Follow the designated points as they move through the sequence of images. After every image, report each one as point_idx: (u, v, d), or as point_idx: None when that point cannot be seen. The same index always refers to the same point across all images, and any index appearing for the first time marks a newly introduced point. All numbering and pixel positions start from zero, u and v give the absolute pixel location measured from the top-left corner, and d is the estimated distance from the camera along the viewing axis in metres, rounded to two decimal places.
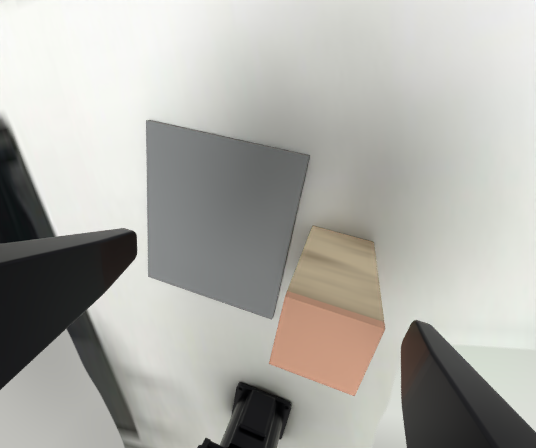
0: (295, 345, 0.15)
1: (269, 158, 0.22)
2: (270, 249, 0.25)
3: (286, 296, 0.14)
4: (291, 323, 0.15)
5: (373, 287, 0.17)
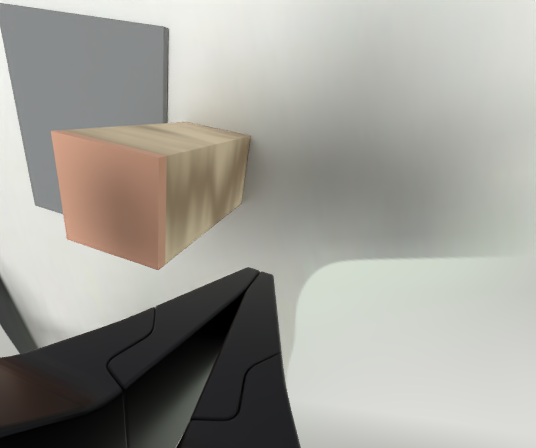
0: (82, 205, 0.12)
1: (124, 35, 0.19)
2: None
3: (53, 131, 0.11)
4: (69, 172, 0.12)
5: (195, 145, 0.13)
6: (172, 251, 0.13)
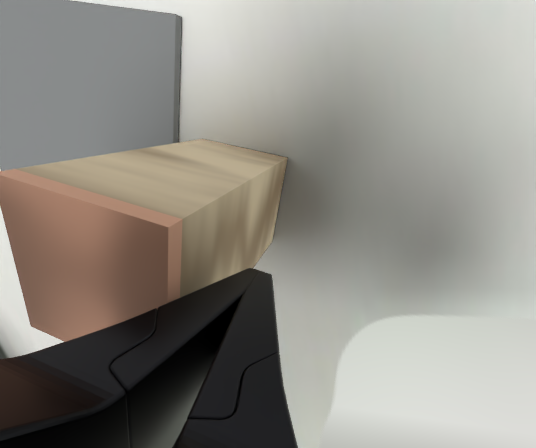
0: (48, 285, 0.08)
1: (123, 26, 0.14)
2: None
3: None
4: (25, 236, 0.07)
5: (223, 185, 0.09)
6: None
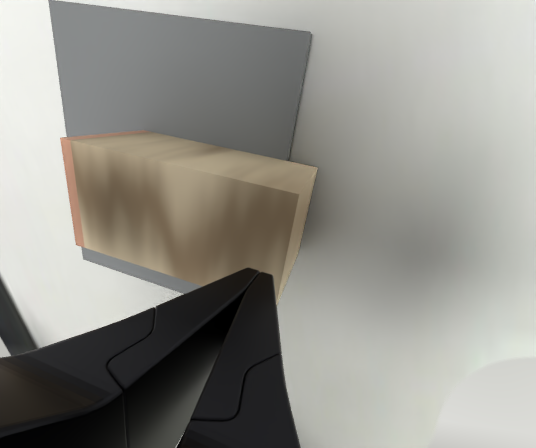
0: None
1: (243, 44, 0.13)
2: None
3: (143, 130, 0.16)
4: None
5: (137, 153, 0.11)
6: (93, 243, 0.13)
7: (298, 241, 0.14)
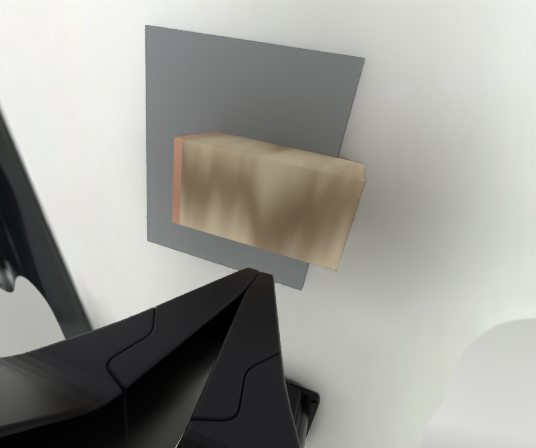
0: None
1: (309, 65, 0.16)
2: None
3: (216, 131, 0.19)
4: None
5: (235, 150, 0.15)
6: (187, 220, 0.17)
7: None
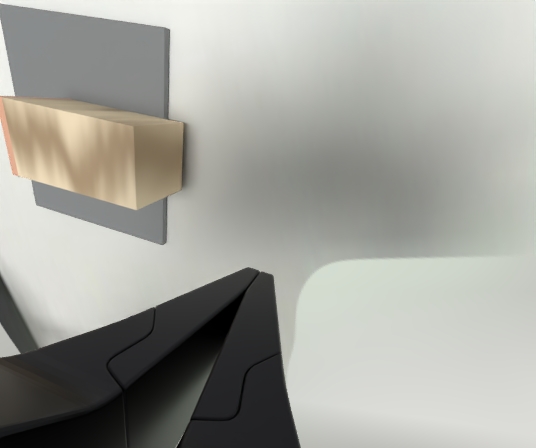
0: None
1: (125, 35, 0.19)
2: None
3: None
4: None
5: (44, 105, 0.17)
6: (23, 171, 0.19)
7: (170, 174, 0.20)
